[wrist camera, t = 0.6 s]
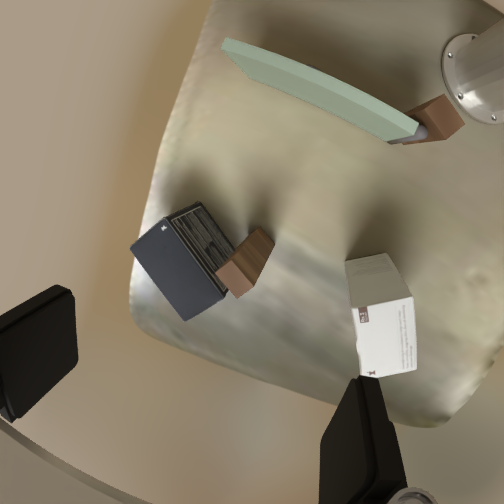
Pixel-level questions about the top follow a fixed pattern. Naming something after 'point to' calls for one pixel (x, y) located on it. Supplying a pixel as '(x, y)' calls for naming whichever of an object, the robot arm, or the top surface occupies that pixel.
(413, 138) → the door
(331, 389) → the top surface
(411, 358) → the skincare box
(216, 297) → the small box
